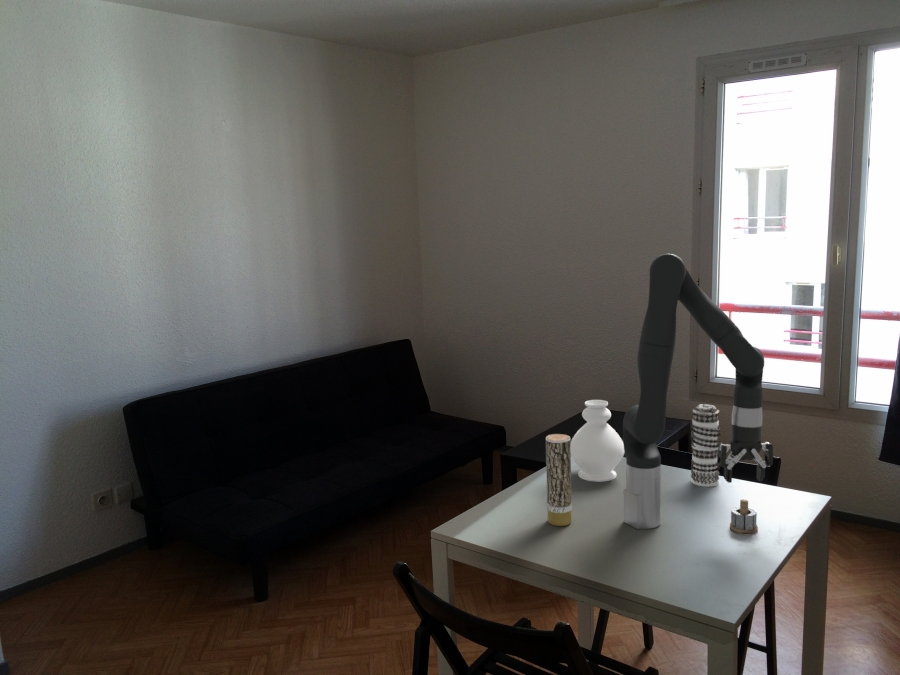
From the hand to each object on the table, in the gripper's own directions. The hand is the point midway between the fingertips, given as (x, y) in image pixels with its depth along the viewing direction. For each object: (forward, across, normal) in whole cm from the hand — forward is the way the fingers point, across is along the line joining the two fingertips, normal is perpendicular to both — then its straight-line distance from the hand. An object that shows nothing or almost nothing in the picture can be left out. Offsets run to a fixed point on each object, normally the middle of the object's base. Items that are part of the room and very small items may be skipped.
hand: (743, 481), depth 195 cm
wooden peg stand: (+14, -1, 0) cm, 14 cm away
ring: (+13, -1, 0) cm, 13 cm away
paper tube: (+15, +47, -13) cm, 51 cm away
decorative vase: (+15, +26, -49) cm, 57 cm away
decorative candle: (+14, -5, -36) cm, 39 cm away
